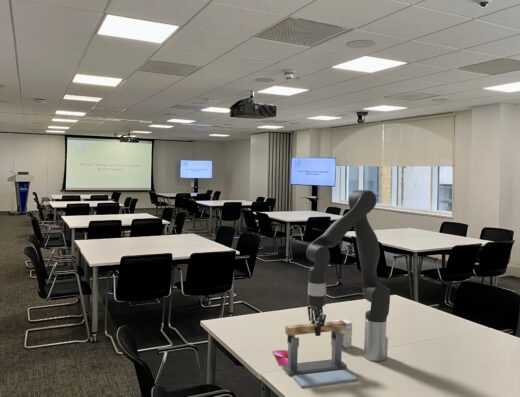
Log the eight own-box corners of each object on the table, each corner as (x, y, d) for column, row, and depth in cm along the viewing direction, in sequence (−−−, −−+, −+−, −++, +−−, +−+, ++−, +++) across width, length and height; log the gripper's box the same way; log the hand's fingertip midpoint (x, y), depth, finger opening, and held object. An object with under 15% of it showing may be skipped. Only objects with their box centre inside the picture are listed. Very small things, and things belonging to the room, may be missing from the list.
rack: (338, 361, 190) (339, 328, 189) (346, 368, 183) (347, 334, 183) (282, 368, 182) (283, 333, 182) (288, 375, 176) (289, 339, 175)
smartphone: (278, 365, 184) (271, 350, 199) (278, 367, 185) (271, 352, 199) (295, 364, 186) (287, 349, 200) (295, 366, 186) (287, 352, 201)
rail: (342, 327, 187) (342, 320, 187) (345, 329, 185) (345, 322, 184) (285, 333, 180) (285, 325, 179) (288, 335, 177) (288, 328, 177)
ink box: (335, 348, 205) (336, 323, 205) (330, 344, 210) (331, 320, 209) (351, 347, 208) (352, 322, 207) (346, 343, 212) (347, 319, 212)
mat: (347, 371, 181) (347, 369, 181) (357, 380, 173) (357, 378, 173) (292, 377, 174) (292, 375, 174) (301, 387, 166) (301, 385, 166)
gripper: (332, 296, 176) (331, 339, 177) (317, 288, 189) (316, 327, 190) (315, 298, 174) (314, 341, 174) (301, 289, 187) (300, 329, 188)
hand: (315, 333), depth 182 cm, fingers closed on rail, 3 cm apart
